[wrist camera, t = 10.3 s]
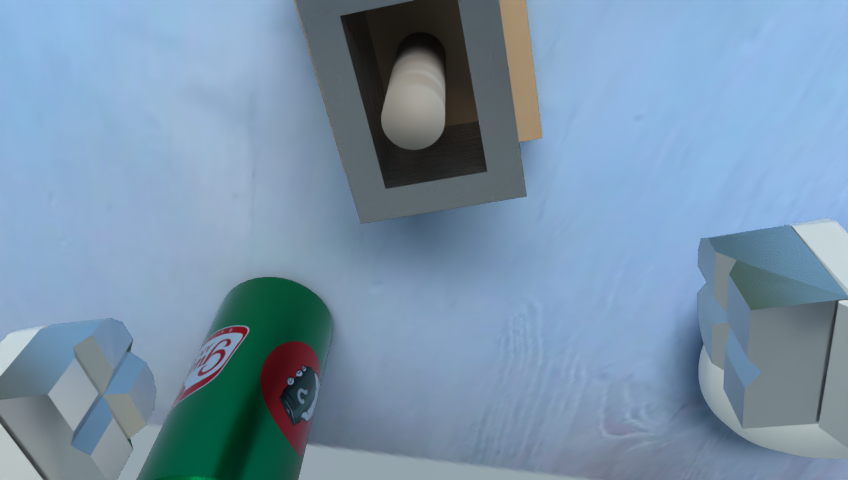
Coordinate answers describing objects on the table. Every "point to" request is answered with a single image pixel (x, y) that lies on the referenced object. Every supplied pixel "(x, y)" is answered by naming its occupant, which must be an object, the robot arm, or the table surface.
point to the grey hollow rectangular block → (458, 144)
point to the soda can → (248, 389)
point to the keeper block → (442, 70)
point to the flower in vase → (778, 438)
